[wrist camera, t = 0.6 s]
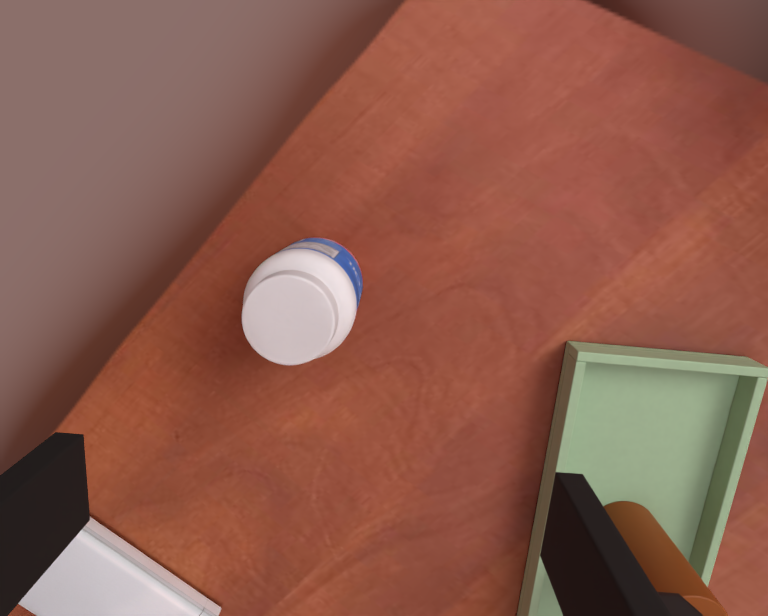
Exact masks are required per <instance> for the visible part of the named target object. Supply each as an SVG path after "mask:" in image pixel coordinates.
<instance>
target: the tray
mask: <svg viewBox="0 0 768 616" xmlns="http://www.w3.org/2000/svg"><path fill="white" fill-rule="evenodd" d="M767 378H768V367H766V366H764V365H762V364H760V363H758V362H756V361H754V360H752V359H750V358H748V357H744V356H733V355H721V354H710V353H699V352H688V351H676V350H665V349H654V348H643V347H631V346H620V345H609V344H598V343H586V342H575V341H567V343H566V348H565V354H564V359H563V365H562V370H561V376H560V381H559V387H558V392H557V398H556V403H555V408H554V414H553V419H552V425H551V430H550V436H549V441H548V447H547V452H546V458H545V463H544V469H543V474H542V480H541V485H540V491H539V496H538V502H537V507H536V513H535V518H534V524H533V529H532V534H531V540H530V545H529V551H528V556H527V562H526V567H525V573H524V578H523V584H522V589H521V595H520V600H519V606H518V611H517V616H563V614H562V611H561V609H560V606H559V603H558V601H557V598H556V596H555V593H554V590H553V588H552V585H551V583H550V580H549V577H548V575H547V572H546V570H545V567H544V564H543V562H542V559H541V557H540V553H541V547H542V542H543V537H544V531H545V526H546V521H547V515H548V510H549V504H550V499H551V494H552V488H553V483H554V478H555V472H563V473H575V474H583V475H584V477H585V478H586V480H587V481H588V483H589V485H590V486H591V488H592V489H593V491H594V492H595V494H596V496H597V497H598V499H599V500H600V502H601V504H602V505H603V506H605V505H607V504H610V503H613V502H618V501H630V502H634V503H637V504H640V505H642V506H644V507H645V508H646V509H648V510H649V511H650V512H651V514H652V515H653V516H654V518H655V519H656V520H657V522H658V523H659V524H660V525H661V527H662V528H663V529H664V531H665V532H666V533H667V535H668V536H669V537H670V539H671V540H672V541H673V543H674V544H675V545H676V546H677V548H678V549H679V550H680V552H681V553H682V554H683V556H684V557H685V558H686V560H687V561H688V562H689V563H690V565H691V566H692V567H693V569H694V570H695V571H696V573H697V574H698V575H699V577H700V578H701V579H702V580H703V582H704V583H705V584H706V586H707V587H708V584H709V581H710V577H711V574H712V570H713V567H714V563H715V560H716V556H717V553H718V549H719V546H720V542H721V539H722V535H723V532H724V528H725V525H726V522H727V518H728V515H729V511H730V508H731V504H732V501H733V497H734V494H735V490H736V487H737V483H738V480H739V476H740V473H741V469H742V466H743V463H744V459H745V456H746V452H747V449H748V445H749V442H750V438H751V435H752V431H753V428H754V424H755V421H756V417H757V414H758V410H759V407H760V404H761V400H762V397H763V393H764V390H765V386H766V383H767Z"/></svg>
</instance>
